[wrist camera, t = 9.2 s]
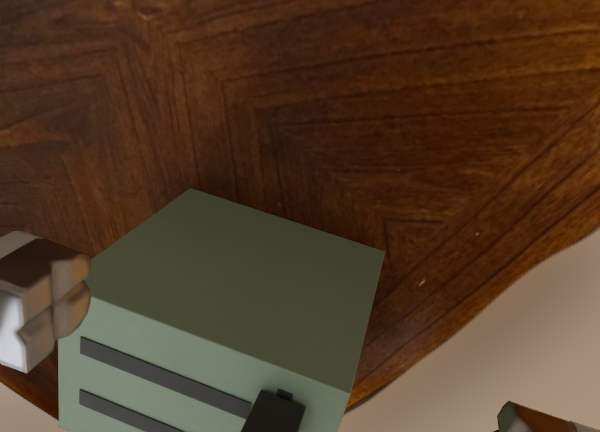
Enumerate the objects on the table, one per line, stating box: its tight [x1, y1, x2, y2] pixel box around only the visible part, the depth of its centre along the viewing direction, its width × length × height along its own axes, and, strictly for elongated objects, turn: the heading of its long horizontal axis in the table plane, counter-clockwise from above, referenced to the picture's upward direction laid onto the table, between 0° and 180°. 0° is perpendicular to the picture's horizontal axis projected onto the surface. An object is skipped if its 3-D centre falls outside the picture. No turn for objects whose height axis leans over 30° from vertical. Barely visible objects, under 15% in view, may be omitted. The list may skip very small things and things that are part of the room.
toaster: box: [58, 188, 385, 432], centre depth 33 cm, size 16×11×15 cm
